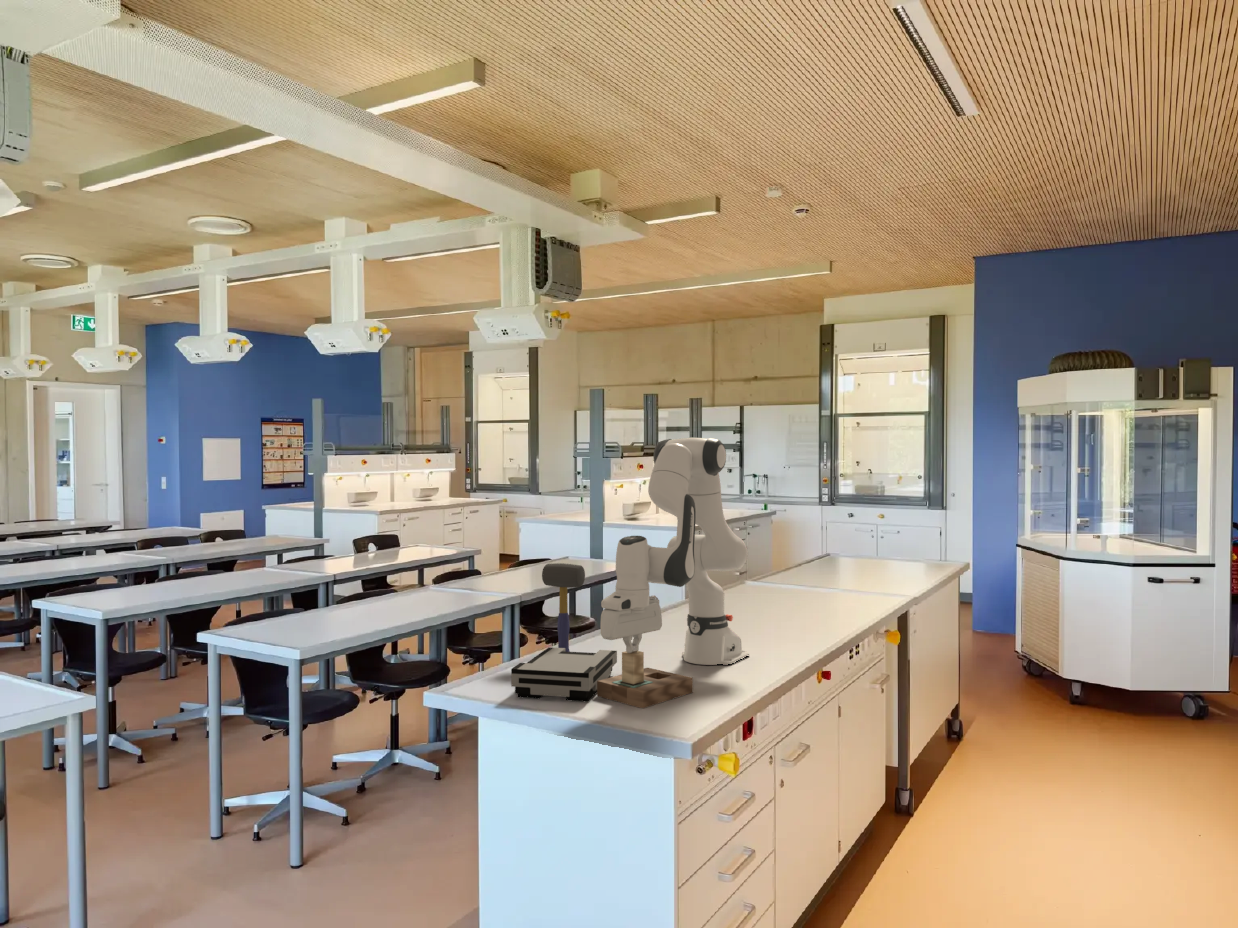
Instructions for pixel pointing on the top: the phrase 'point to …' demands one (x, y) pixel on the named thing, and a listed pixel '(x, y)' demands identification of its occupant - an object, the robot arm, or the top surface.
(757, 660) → the top surface
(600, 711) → the top surface
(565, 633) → the rubber mallet
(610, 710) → the top surface
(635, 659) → the peg
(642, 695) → the board
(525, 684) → the game console
